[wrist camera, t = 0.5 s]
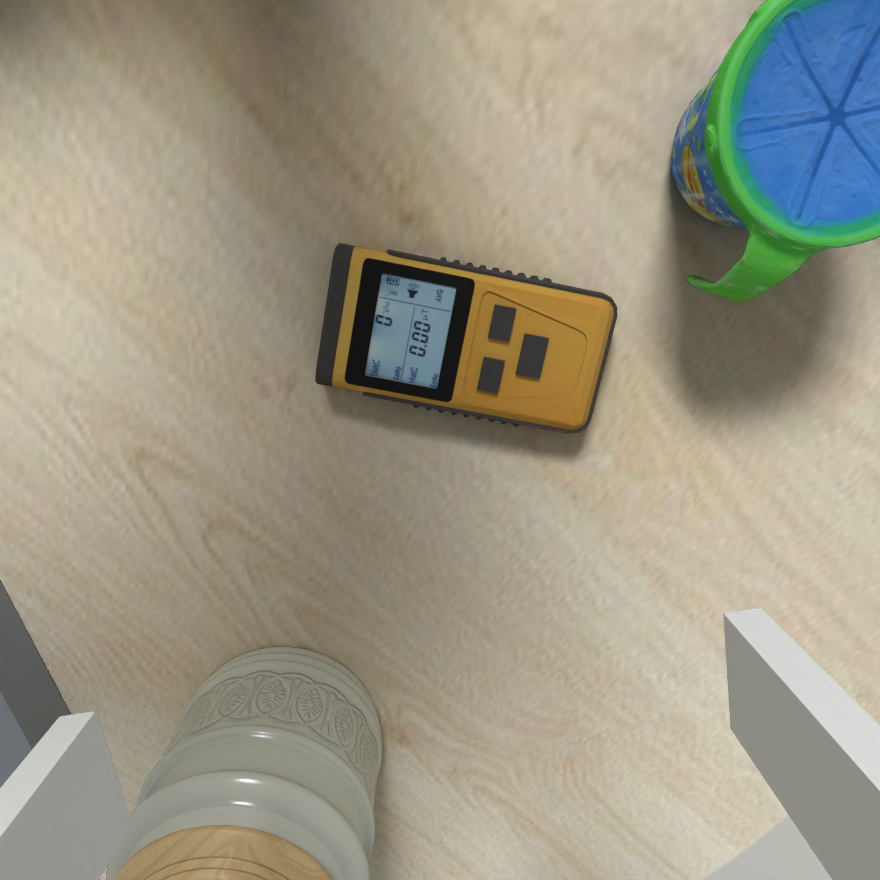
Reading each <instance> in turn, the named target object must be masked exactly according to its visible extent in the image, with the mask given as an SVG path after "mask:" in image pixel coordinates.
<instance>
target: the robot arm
mask: <svg viewBox="0 0 880 880" xmlns="http://www.w3.org/2000/svg"><path fill="white" fill-rule="evenodd" d="M724 629H725V645H726V661H727V678H728V694H729V710H730V726H731V730H732V731H733V733H734V734H735V736H736V737H737V739H738V740H739V742H740V743H741V745H742V746H743V748H744V749H745V751H746V752H747V753H748V755H749V756H750V758H751V759H752V761H753V762H754V764H755V765H756V767H757V768H758V770H759V771H760V773H761V774H762V776H763V777H764V779H765V780H766V782H767V783H768V785H769V786H770V788H771V789H772V791H773V792H774V794H775V795H776V797H777V798H778V800H779V801H780V803H781V804H782V805H783V807H784V808H785V810H786V811H787V813H788V814H789V816H790V817H791V819H792V820H793V822H794V823H795V825H796V826H797V828H798V829H799V831H800V832H801V834H802V835H803V837H804V838H805V840H806V841H807V843H808V844H809V846H810V847H811V849H812V850H813V852H814V853H815V854H816V856H817V857H818V859H819V860H820V862H821V863H822V865H823V866H824V868H825V869H826V871H827V872H828V874H829V875H830V877H831V878H832V880H880V725H879V724H878V723H877V722H876V721H875V720H873V719H872V718H871V717H870V716H869V715H868V714H867V713H866V712H865V711H864V710H863V709H862V708H861V707H860V706H859V705H858V704H857V703H856V702H855V701H854V700H853V699H852V698H851V697H850V696H849V695H848V694H847V693H846V692H845V691H844V690H843V689H842V688H841V687H840V686H839V685H838V684H837V683H836V682H835V681H834V680H833V679H832V678H831V677H830V676H829V675H828V674H827V673H826V672H825V671H824V670H823V669H822V668H821V667H820V666H819V665H818V664H817V663H816V662H815V661H814V660H813V659H812V658H811V657H810V656H809V655H808V654H807V653H806V652H805V651H804V650H803V649H802V648H801V647H800V646H799V645H798V644H797V643H796V642H795V641H794V640H793V639H792V638H791V637H790V636H789V635H788V634H787V633H786V632H785V631H784V630H783V629H782V628H781V627H780V626H779V625H778V624H777V623H776V622H775V621H774V620H773V619H772V618H771V617H770V616H769V615H768V614H767V613H766V612H765V611H764V610H763V609H762V608H756V609H749V610H743V611H736V612H730V613H724ZM130 821H131V817H130V814H129V811H128V808H127V805H126V802H125V799H124V796H123V793H122V789H121V786H120V783H119V780H118V777H117V774H116V771H115V768H114V765H113V762H112V759H111V756H110V753H109V750H108V747H107V744H106V741H105V738H104V735H103V732H102V729H101V726H100V723H99V720H98V717H97V714H96V711H92V712H86V713H79V714H73V715H66V716H60V717H59V718H58V719H57V720H56V722H55V723H54V724H53V725H52V726H51V728H50V729H49V730H48V731H47V732H46V734H45V735H44V736H43V737H42V738H41V740H40V741H39V742H38V743H37V744H36V746H35V747H34V748H33V749H32V751H31V752H30V753H29V754H28V755H27V757H26V758H25V759H24V760H23V761H22V763H21V764H20V765H19V766H18V767H17V769H16V770H15V771H14V772H13V773H12V775H11V776H10V777H9V778H8V780H7V781H6V782H5V783H4V784H3V786H2V787H1V788H0V880H99V879H100V877H101V875H102V873H103V872H104V870H105V868H106V866H107V864H108V862H109V860H110V859H111V857H112V855H113V853H114V851H115V849H116V847H117V846H118V844H119V842H120V840H121V838H122V836H123V834H124V833H125V831H126V829H127V827H128V825H129V823H130Z"/></svg>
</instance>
